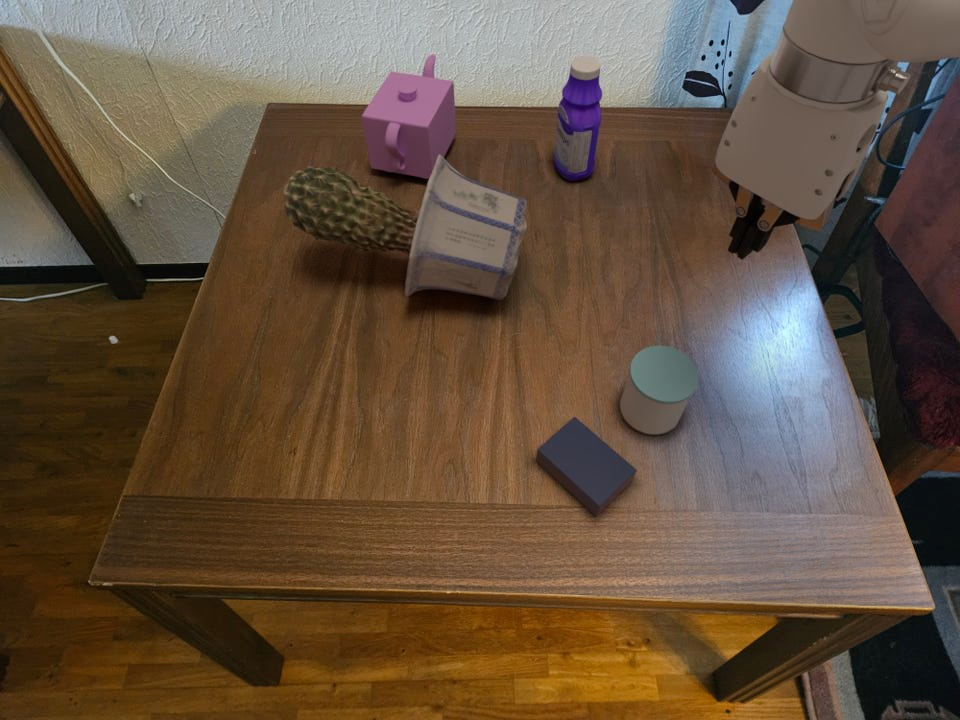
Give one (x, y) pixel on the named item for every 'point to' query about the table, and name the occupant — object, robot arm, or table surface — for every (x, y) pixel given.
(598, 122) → the bottle
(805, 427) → the table surface
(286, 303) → the table surface
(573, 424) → the dark rectangular block
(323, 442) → the table surface
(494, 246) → the potted plant
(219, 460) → the table surface
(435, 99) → the teapot
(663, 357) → the beige cylinder teal cap
